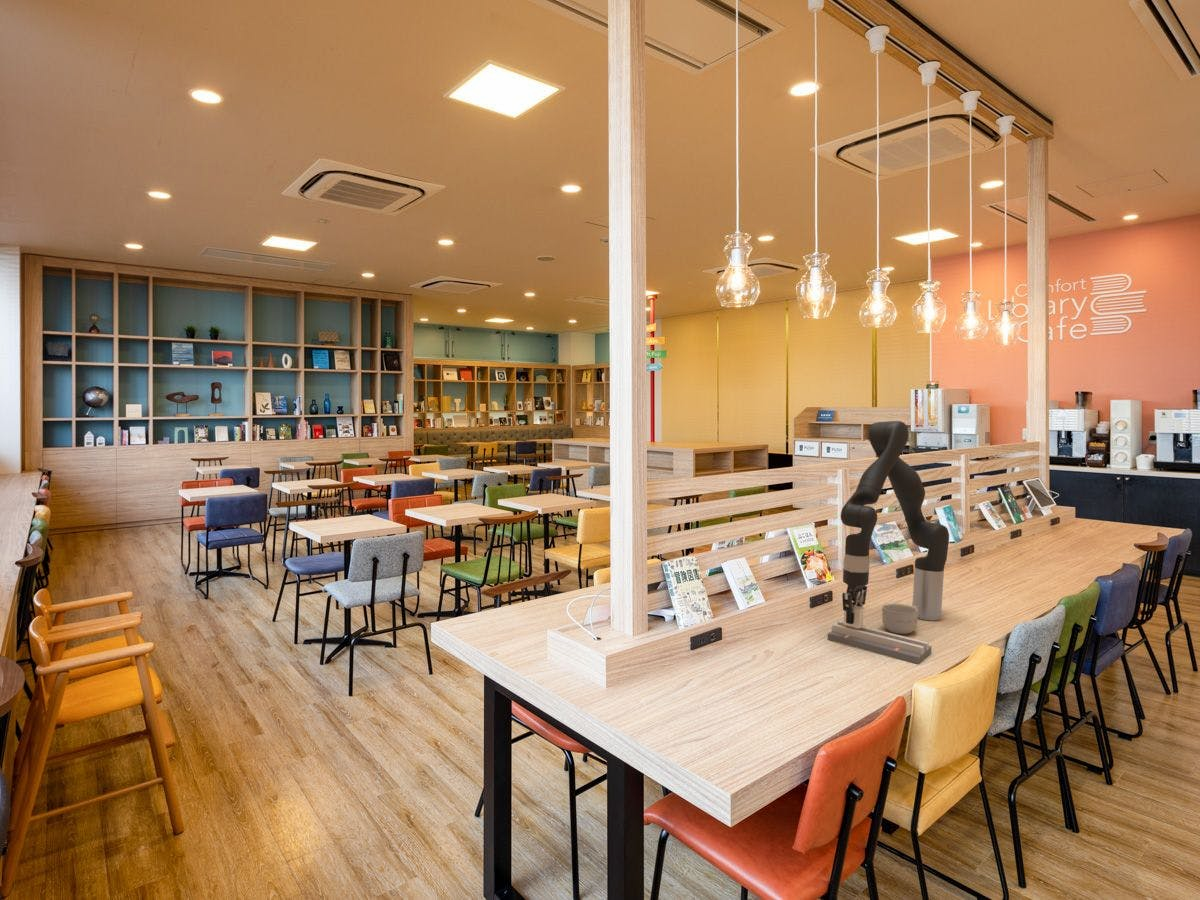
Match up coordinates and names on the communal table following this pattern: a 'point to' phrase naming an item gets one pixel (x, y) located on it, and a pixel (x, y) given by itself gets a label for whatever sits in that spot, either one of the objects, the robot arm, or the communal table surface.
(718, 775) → the communal table surface
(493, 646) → the communal table surface
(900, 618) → the teacup
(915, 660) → the track
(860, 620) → the fader
